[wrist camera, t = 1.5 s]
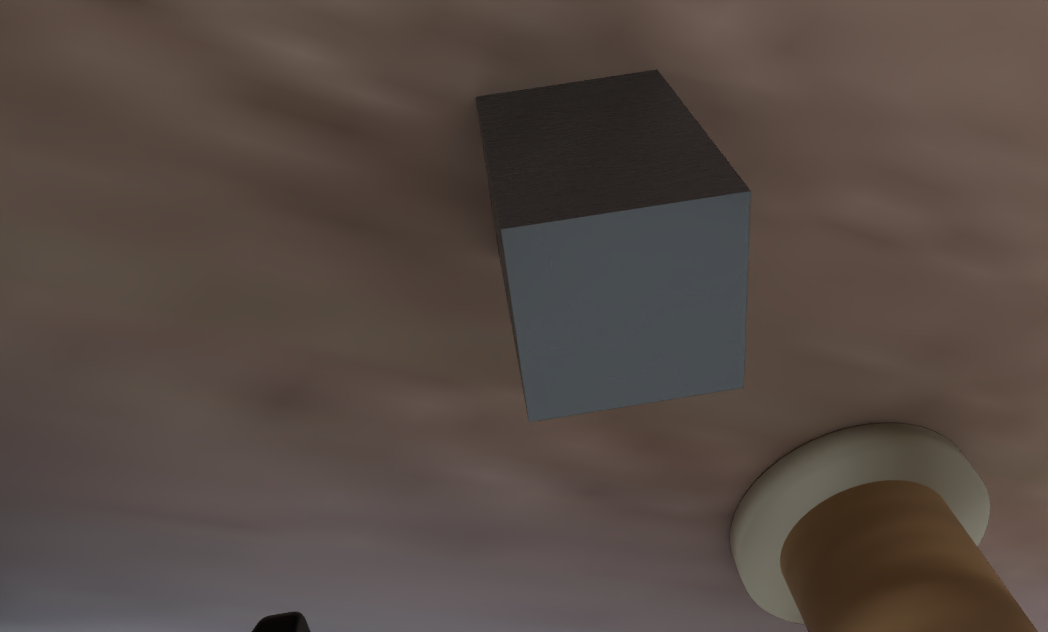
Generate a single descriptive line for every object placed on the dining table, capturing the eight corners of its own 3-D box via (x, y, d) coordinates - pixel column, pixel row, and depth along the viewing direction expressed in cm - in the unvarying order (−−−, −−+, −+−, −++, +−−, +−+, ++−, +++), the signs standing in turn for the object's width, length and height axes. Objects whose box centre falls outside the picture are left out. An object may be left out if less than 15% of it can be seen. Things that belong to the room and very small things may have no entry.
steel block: (499, 255, 19) (528, 422, 14) (475, 96, 17) (501, 229, 12) (661, 230, 19) (743, 387, 14) (657, 69, 17) (750, 191, 12)
